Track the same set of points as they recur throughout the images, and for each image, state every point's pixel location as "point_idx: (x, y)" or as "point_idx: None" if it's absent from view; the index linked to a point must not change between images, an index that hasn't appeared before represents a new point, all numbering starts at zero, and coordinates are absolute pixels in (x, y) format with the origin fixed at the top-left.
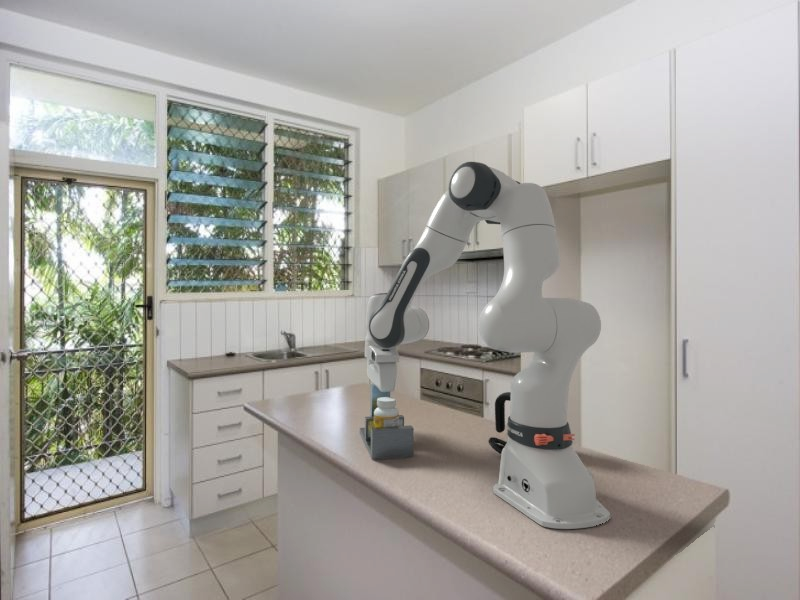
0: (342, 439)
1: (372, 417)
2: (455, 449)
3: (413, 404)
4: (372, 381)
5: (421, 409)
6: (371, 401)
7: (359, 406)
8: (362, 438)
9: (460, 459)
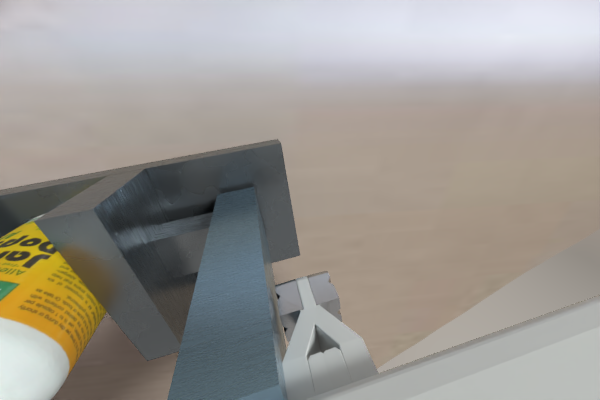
0: (195, 65)
1: (90, 250)
2: (158, 370)
3: (499, 269)
4: (377, 392)
5: (456, 287)
6: (218, 272)
7: (557, 130)
8: (203, 153)
9: (85, 386)
